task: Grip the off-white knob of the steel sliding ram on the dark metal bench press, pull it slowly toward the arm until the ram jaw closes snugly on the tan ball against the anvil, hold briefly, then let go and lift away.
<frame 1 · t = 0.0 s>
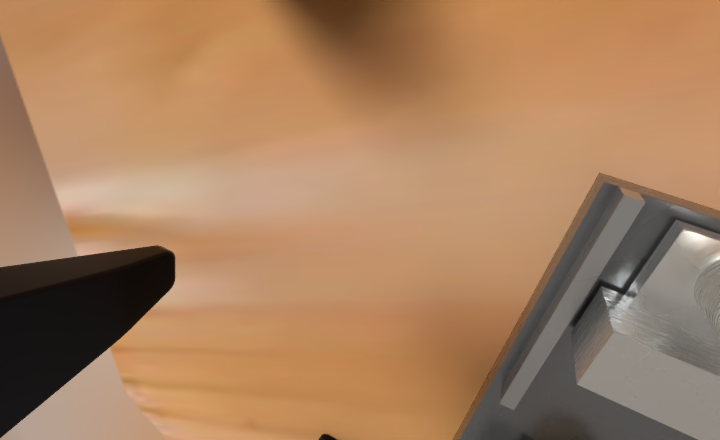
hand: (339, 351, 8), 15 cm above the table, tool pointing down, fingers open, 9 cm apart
press base: (604, 402, 22), on the table
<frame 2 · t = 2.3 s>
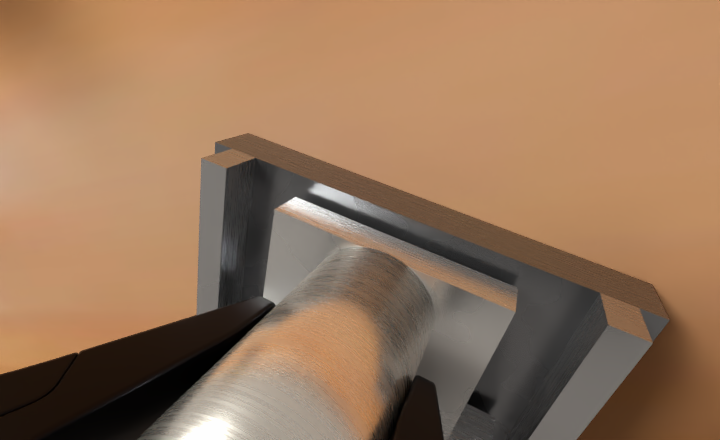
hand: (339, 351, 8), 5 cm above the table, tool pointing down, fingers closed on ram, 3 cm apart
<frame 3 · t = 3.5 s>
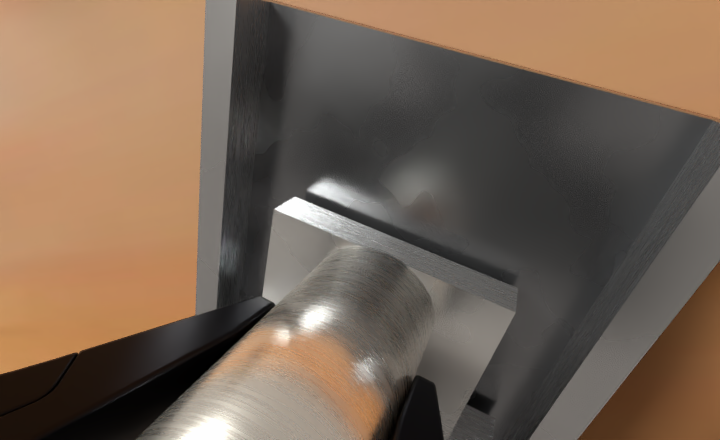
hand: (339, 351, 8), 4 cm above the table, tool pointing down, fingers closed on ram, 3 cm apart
press base: (359, 387, 15), on the table
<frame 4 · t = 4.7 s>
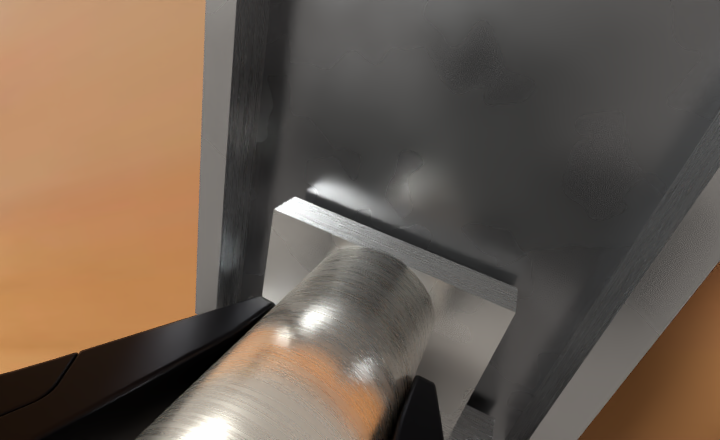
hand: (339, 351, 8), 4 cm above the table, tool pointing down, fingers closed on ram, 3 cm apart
press base: (383, 314, 13), on the table
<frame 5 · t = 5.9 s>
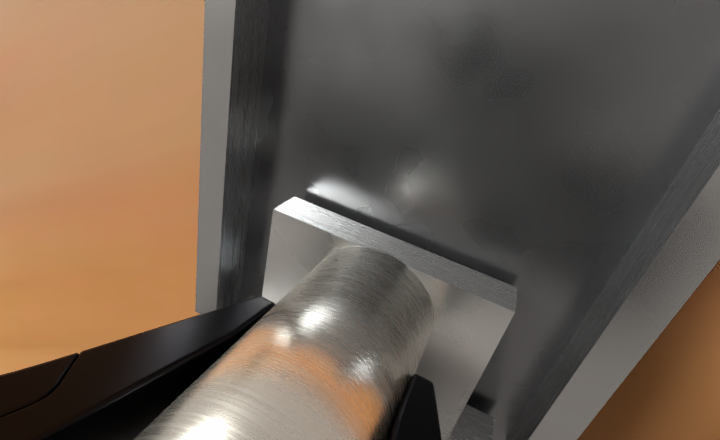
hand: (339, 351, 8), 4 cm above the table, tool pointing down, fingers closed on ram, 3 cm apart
press base: (384, 312, 13), on the table
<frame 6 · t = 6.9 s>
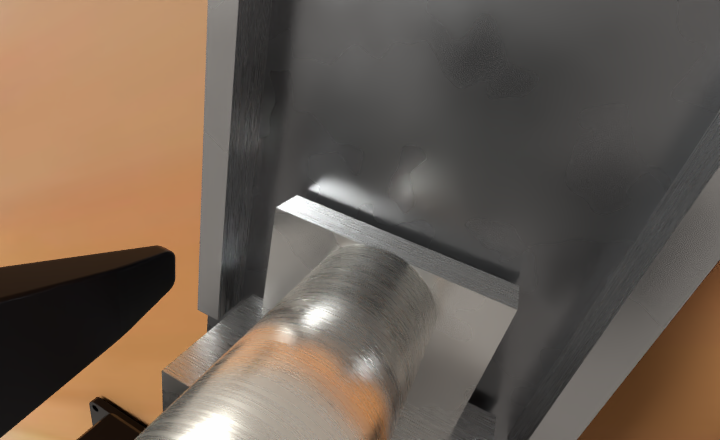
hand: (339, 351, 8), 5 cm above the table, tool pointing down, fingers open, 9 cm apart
press base: (385, 310, 13), on the table
ram: (305, 439, 8), point 5 cm above the table, slide at 7.7 cm
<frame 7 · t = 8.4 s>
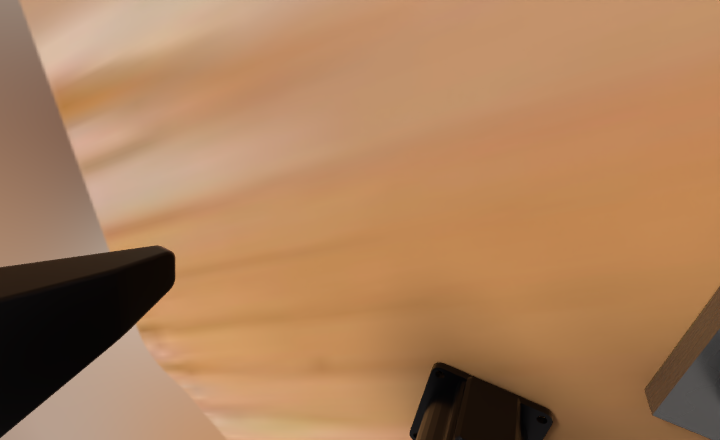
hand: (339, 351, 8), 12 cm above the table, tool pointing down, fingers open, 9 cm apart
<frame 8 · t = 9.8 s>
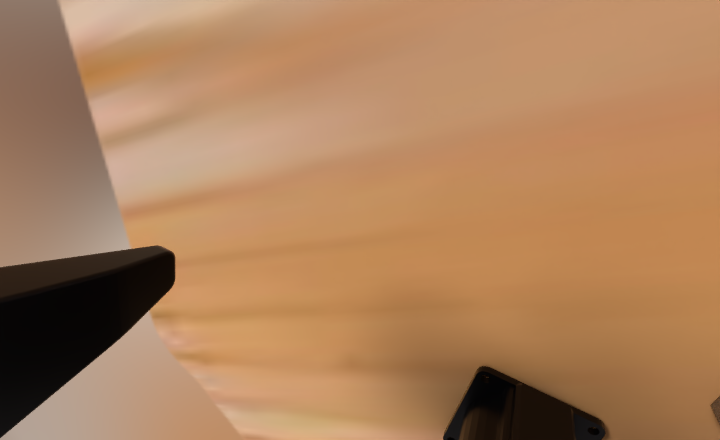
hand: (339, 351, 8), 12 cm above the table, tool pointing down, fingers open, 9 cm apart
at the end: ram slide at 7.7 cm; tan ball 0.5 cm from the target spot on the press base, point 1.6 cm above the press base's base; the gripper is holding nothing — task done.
